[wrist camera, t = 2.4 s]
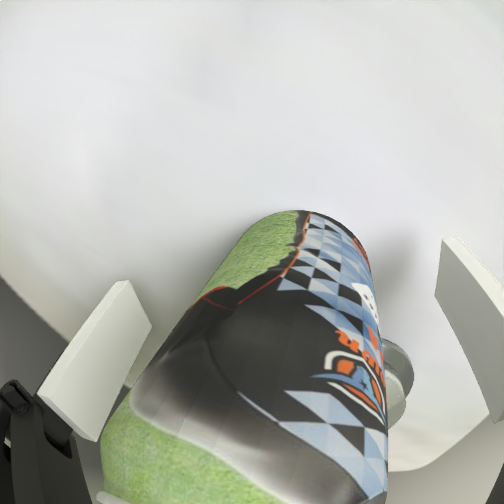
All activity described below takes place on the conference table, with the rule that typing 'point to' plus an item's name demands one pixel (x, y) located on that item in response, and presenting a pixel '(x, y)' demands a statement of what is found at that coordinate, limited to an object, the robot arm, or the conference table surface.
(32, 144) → the conference table surface
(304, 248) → the beverage can
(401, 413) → the bowl
